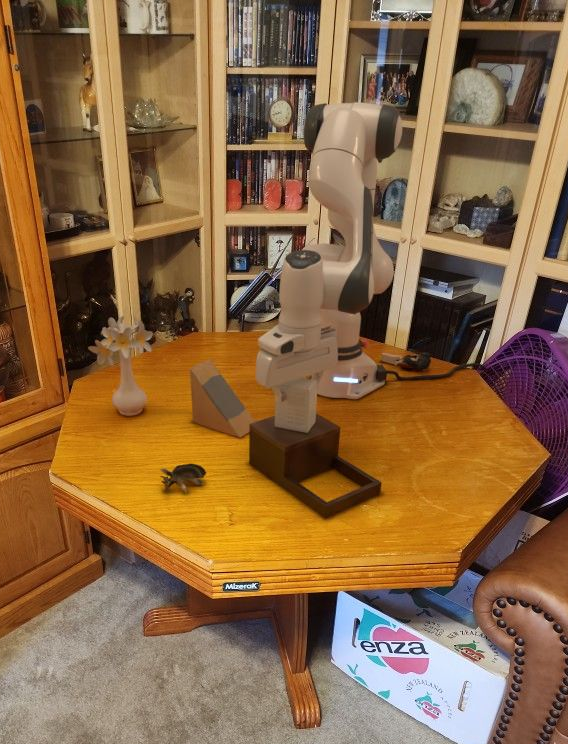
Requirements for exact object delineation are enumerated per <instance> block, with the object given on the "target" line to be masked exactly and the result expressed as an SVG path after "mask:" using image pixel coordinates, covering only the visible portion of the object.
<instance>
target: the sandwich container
mask: <svg viewBox="0 0 568 744" xmlns="http://www.w3.org/2000/svg"><path fill="white" fill-rule="evenodd" d="M189 376H190V395H191V411H192V413H191V414H192V422H193V423H195V424H197V425H200V426H203V427H206V428H209V429H211V430H215V431H218V432H222V433H224V434H228V435H231V436H234V437H237V438H242V437H243V436H245V435H247V434H249V424H251V423H254V422H256V420H255V419H254V418H253V416H252V414H251V413H250V412H249V411H248V410H247V408H246V407H245V405H244V404H243V403H242V401H241V399H239V397H238V396H237V394H236V393H235V392H234V390H233V389H232V387H231V386H230V384H229V383H228V382H227V381H226V379H225V377H224V376H223V375H222V373H221V372H220V371H219V369H218V367H217V366H216V365H215V363H214V362H213V360H212V358H208V359H206V360H204V361H202V362H199V363H198V364H196V365H194V366H192V367H190V368H189Z"/></svg>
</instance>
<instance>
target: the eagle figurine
mask: <svg viewBox="0 0 568 744" xmlns="http://www.w3.org/2000/svg"><path fill="white" fill-rule="evenodd" d="M160 472H161V473H163V474H164V475H165V476H163V475H160V476H159V477H161V478H162V479H163V480H161V481H160V483H162V484H163V485H164V491H165V492H168V491H169V490H170V488H171V487H172V486H173V485H175V484H176V486H177V487H179V488H180V489H181V490H182V491H183V492H184V494H187V487H186V485H185V482H189V483H193V484H196V485H199V486H202V485H203V484H204V482H203V481H202V480H201V479H203V478H205V476H206V475H207V471H206V469H205V468H204V467H202V465H199V464H196V463H185V464H178V465H176V466H175V467H174V468H173V469H172V471H171V470H168V469H167V468H163V467H161V468H160Z"/></svg>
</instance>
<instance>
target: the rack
mask: <svg viewBox="0 0 568 744" xmlns="http://www.w3.org/2000/svg"><path fill="white" fill-rule="evenodd" d="M341 428H342V427H341V426H340V425H338V424H337V423H335V422H333V421H331V420H330V419H327V418H326V417H324V416H323V415H320V414H319V413H317V412H316V420H315V423H314V425H313V426H312V427H311V429H310V430H309V432H308V433H305V432H299V431H294V430H289V429H284V428H279V427H275V415H272V416H270V417H267V418H263V419H261V420H258V421H255V422H254V423H251V424H249V432H248V436H249V439H248V442H249V443H248V464H249V465H250V466H251V467H253V468H254V469H256V470H257V471H259V472H260V473H261V474H263V475H264V476H265V477H267V478H268V479H269V480H271V481H272V482H274V483H275V484H277V485H278V486H280V487H281V488H282V489H284V490H285V491H286V492H287V493H289V494H291V495H292V496H293V497H294V498H296V499H297V500H299V501H300V502H301V503H303V504H304V505H306V506H307V507H309V508H310V509H312V510H313V511H314V512H315V513H317V514H319V515H320V516H321V517H322V518H323V519H327V518H330V517H331V516H334V515H336V514H338V513H341V512H343V511H344V510H347V509H349V508H352V507H354V506H356V505H358V504H361V503H363V502H366V501H368V500H369V499H371V498H374V497H376V496H379V495H380V494H381V491H382V483H383V482H382V481H381V480H379V479H377V478H375V477H374V476H372V475H371V474H369V473H367V472H366V471H364V470H362V469H361V468H359V467H358V466H356V465H354V464H353V463H351V462H350V461H348V460H346V459H344V458H342V457H341V456H339V450H340V440H341V439H340V438H341ZM330 470H335V471H337V472H339V474H341V475H343V476H345V477H346V478H348V479H349V480H351V481H353V482H354V483H356V484H357V485H358V486H360V487H358V488H356V489H354V490H352V491H349V492H347V493H345V494H343V495H341V496H338V497H336V498H333V499H331V500H328V501H326V500H324V499H323V498H322V497H320V496H319V495H317V494H316V493H314V492H313V491H311V489H309V488H307V486H304V485H303V484H301V483H300V482H304V481H305V480H308V479H311V478H313V477H315V476H318V475H321V474H323V473H325V472H328V471H330Z"/></svg>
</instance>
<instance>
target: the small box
mask: <svg viewBox="0 0 568 744" xmlns="http://www.w3.org/2000/svg"><path fill="white" fill-rule="evenodd" d="M280 391H281V392H282V393H284V394H285V401H283V402H280V403H278V402H277V401H275V400H274V416H275V427H279V428H284V429H289V430H294V431H299V432H305V433H308V432H309V430H310V429H311V427H312V426H313V425H314V423H315V420H316V413H317V401H318V400H317V399H318V398H317V397H318V394H317V380H312V379H311V378H307V377H303V378H300V379H297V380H294V381H291V382H288V383H285V384H282V388H281V389H280Z"/></svg>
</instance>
